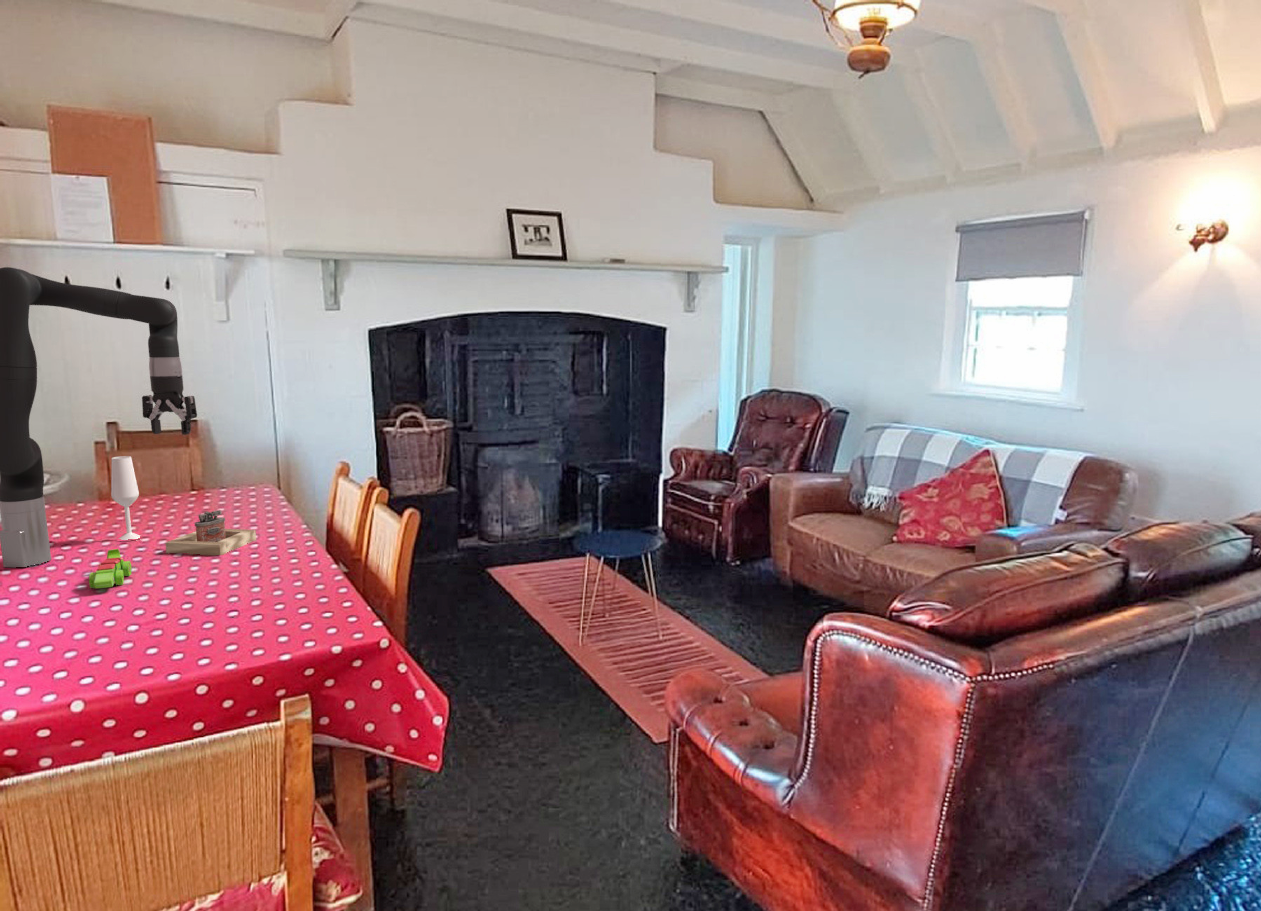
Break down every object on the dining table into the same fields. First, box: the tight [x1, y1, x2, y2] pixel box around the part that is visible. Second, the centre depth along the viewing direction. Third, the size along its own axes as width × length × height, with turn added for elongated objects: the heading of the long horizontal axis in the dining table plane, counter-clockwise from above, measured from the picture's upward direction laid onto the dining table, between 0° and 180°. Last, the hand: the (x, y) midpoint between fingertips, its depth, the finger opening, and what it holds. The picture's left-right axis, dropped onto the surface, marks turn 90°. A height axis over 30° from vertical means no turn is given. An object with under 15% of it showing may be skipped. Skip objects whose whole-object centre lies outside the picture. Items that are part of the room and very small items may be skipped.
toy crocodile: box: [88, 548, 132, 589], centre depth 190 cm, size 20×7×6 cm, turn 21°
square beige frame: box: [165, 528, 257, 556], centre depth 221 cm, size 16×16×3 cm
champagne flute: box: [110, 455, 141, 540], centre depth 227 cm, size 7×7×24 cm
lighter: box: [194, 509, 226, 542], centre depth 220 cm, size 8×3×10 cm, turn 146°
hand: (171, 434), depth 214 cm, fingers open, 8 cm apart
